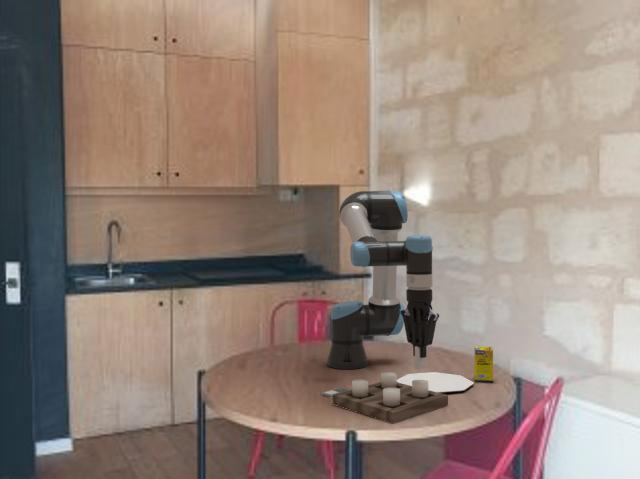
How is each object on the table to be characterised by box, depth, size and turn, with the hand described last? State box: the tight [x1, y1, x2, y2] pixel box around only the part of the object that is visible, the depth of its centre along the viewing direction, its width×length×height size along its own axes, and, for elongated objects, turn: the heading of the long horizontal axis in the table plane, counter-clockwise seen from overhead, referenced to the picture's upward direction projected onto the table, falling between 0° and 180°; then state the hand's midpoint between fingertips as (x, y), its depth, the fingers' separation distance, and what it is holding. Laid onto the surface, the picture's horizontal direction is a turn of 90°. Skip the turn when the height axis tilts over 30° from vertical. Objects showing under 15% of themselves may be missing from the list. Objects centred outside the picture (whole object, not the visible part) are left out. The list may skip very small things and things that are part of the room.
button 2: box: [380, 371, 398, 388], centre depth 207 cm, size 5×5×4 cm
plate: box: [397, 371, 474, 394], centre depth 220 cm, size 24×24×2 cm
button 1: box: [351, 378, 369, 397], centre depth 199 cm, size 5×5×4 cm
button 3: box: [383, 388, 400, 406], centre depth 189 cm, size 5×5×4 cm
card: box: [320, 387, 350, 399], centre depth 210 cm, size 9×9×1 cm
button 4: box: [412, 380, 428, 397], centre depth 198 cm, size 5×5×4 cm
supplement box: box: [473, 346, 494, 384], centre depth 224 cm, size 6×6×11 cm
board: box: [332, 381, 449, 424], centre depth 198 cm, size 24×24×3 cm
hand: (419, 368), depth 197 cm, fingers closed
